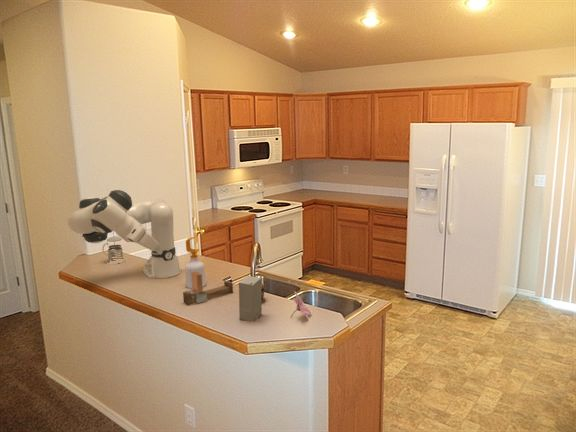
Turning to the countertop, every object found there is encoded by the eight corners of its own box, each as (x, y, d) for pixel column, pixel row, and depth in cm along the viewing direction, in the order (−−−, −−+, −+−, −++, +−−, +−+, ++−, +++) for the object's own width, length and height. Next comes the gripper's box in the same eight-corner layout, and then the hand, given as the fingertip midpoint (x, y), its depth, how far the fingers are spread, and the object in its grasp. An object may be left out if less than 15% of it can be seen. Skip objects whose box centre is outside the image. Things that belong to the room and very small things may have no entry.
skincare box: (247, 312, 189) (246, 275, 186) (263, 314, 187) (262, 276, 184) (238, 320, 182) (236, 281, 179) (254, 322, 179) (253, 283, 176)
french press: (127, 262, 267) (123, 220, 262) (106, 266, 261) (101, 223, 256) (123, 259, 275) (119, 217, 270) (102, 262, 269) (98, 220, 264)
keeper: (189, 299, 204) (187, 273, 202) (199, 296, 208) (197, 270, 205) (196, 303, 199) (194, 276, 197) (206, 300, 202) (205, 274, 200)
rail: (183, 302, 201) (182, 292, 200) (228, 290, 215) (227, 280, 214) (187, 305, 198) (187, 294, 197) (233, 292, 212) (232, 282, 211)
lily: (297, 329, 174) (309, 307, 173) (275, 311, 180) (286, 290, 179) (311, 327, 185) (323, 306, 183) (290, 310, 190) (301, 290, 189)
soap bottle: (201, 289, 218) (198, 238, 214) (183, 288, 220) (179, 238, 216) (208, 283, 227) (205, 234, 223) (190, 282, 229) (187, 234, 224)
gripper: (118, 233, 190) (143, 252, 197) (134, 241, 173) (161, 261, 181) (128, 221, 191) (153, 240, 199) (145, 228, 175) (171, 249, 182)
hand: (157, 250), depth 190 cm, fingers open, 8 cm apart
